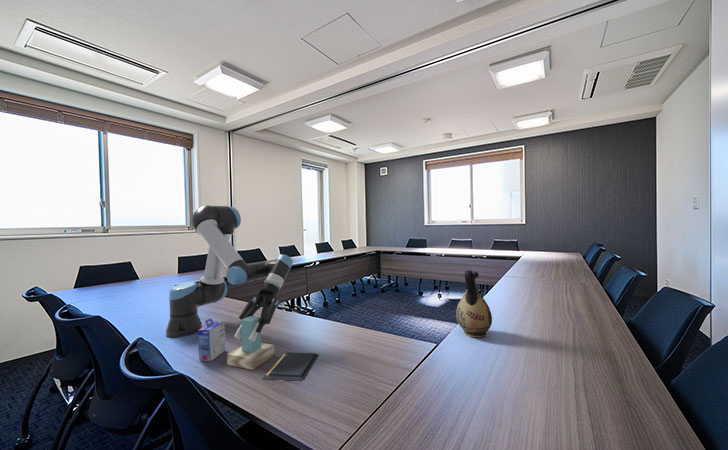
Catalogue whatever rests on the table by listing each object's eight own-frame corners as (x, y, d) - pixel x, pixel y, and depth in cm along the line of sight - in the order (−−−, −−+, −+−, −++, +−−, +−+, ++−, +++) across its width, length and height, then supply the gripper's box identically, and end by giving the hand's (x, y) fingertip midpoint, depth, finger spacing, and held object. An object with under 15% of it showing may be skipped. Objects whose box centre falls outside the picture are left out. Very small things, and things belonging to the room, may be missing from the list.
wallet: (302, 378, 92) (259, 375, 94) (302, 384, 92) (259, 381, 94) (320, 351, 112) (285, 349, 114) (321, 355, 112) (285, 353, 114)
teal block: (241, 351, 107) (241, 319, 107) (251, 345, 111) (251, 315, 111) (251, 353, 105) (251, 321, 105) (261, 347, 110) (261, 317, 109)
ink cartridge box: (213, 349, 118) (213, 315, 118) (226, 350, 117) (225, 315, 117) (197, 361, 108) (196, 323, 108) (211, 361, 107) (210, 324, 107)
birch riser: (227, 364, 105) (227, 354, 105) (250, 350, 116) (250, 341, 116) (252, 369, 101) (252, 358, 101) (274, 354, 112) (274, 345, 112)
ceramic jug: (461, 325, 139) (460, 265, 139) (495, 332, 130) (494, 268, 130) (450, 337, 126) (449, 270, 125) (487, 345, 117) (485, 273, 116)
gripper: (294, 292, 119) (269, 346, 104) (258, 289, 126) (230, 340, 111) (286, 282, 114) (259, 338, 99) (249, 280, 121) (218, 331, 106)
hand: (244, 339), depth 105 cm, fingers open, 6 cm apart
